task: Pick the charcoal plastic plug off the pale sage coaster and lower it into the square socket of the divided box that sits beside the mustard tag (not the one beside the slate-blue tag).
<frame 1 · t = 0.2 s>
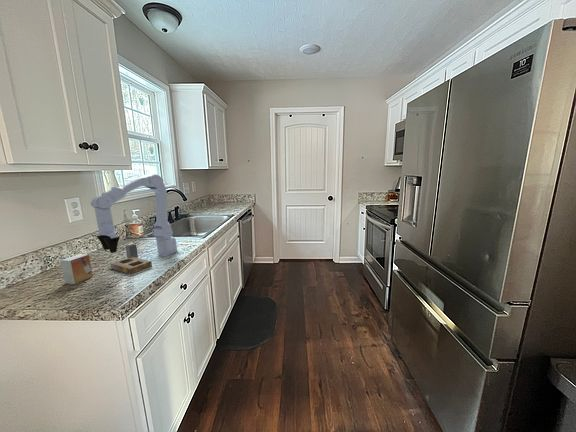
hand: (110, 250, 112), 10 cm above the countertop, fingers open, 7 cm apart
divided box: (131, 268, 117), on the countertop
plug: (132, 258, 129), resting on coaster
small box: (79, 280, 106), on the countertop
coaster: (133, 259, 129), on the countertop
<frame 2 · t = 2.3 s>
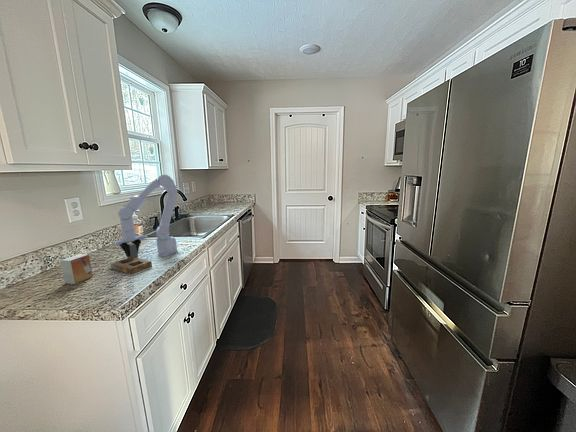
hand: (132, 255, 128), 2 cm above the countertop, fingers closed on plug, 3 cm apart
plug: (132, 258, 129), resting on coaster, touching gripper
everything else where it was.
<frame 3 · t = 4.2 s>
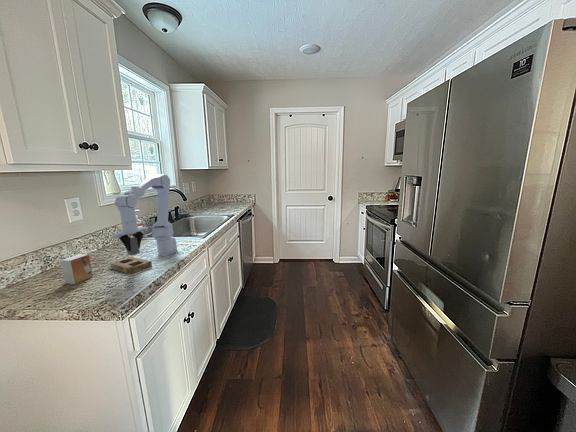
hand: (133, 249, 113), 10 cm above the countertop, fingers closed on plug, 3 cm apart
plug: (133, 253, 114), point 8 cm above the countertop, touching gripper
everything else where it was.
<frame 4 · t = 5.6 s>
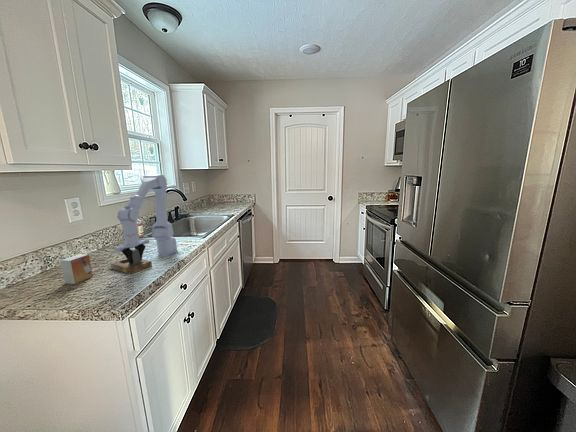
hand: (135, 261, 114), 4 cm above the countertop, fingers closed on plug, 3 cm apart
plug: (135, 266, 115), point 2 cm above the countertop, touching gripper
everything else where it was.
when the fingers open (3 cm above the countertop, at t = 6.5 s): plug stays where it is, resting on divided box.
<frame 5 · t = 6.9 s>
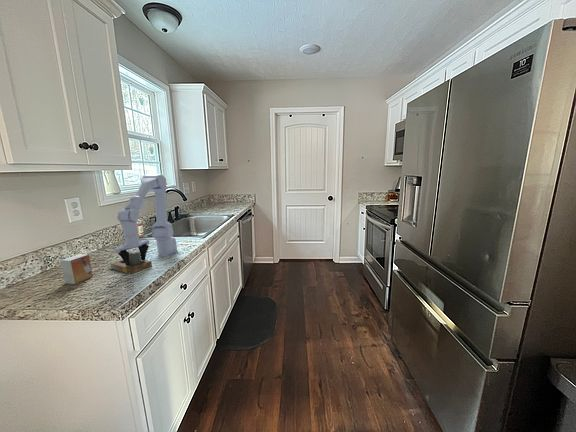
hand: (135, 262, 114), 3 cm above the countertop, fingers open, 7 cm apart
plug: (136, 268, 115), resting on divided box
everything else where it was.
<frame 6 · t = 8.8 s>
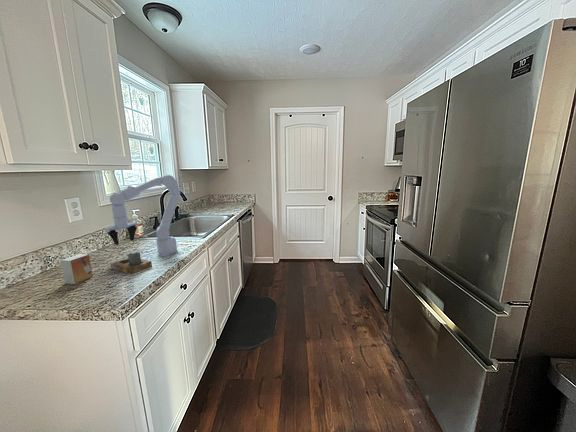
hand: (124, 242, 126), 10 cm above the countertop, fingers open, 7 cm apart
nothing on the countertop moved.
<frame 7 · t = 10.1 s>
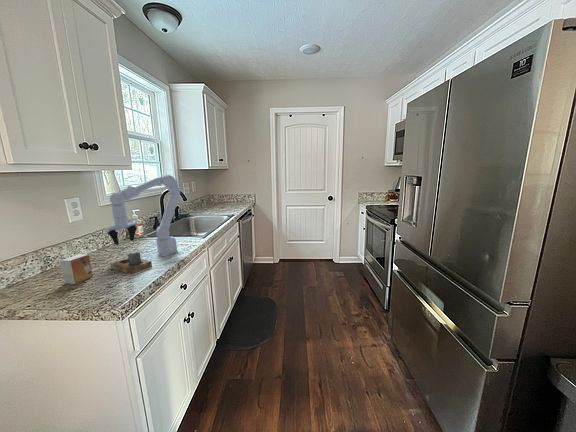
hand: (124, 242, 126), 10 cm above the countertop, fingers open, 7 cm apart
nothing on the countertop moved.
at the end: plug 0.4 cm from the target spot on the divided box, point 0.5 cm above the divided box's base; plug tilted 0°; the gripper is holding nothing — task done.
